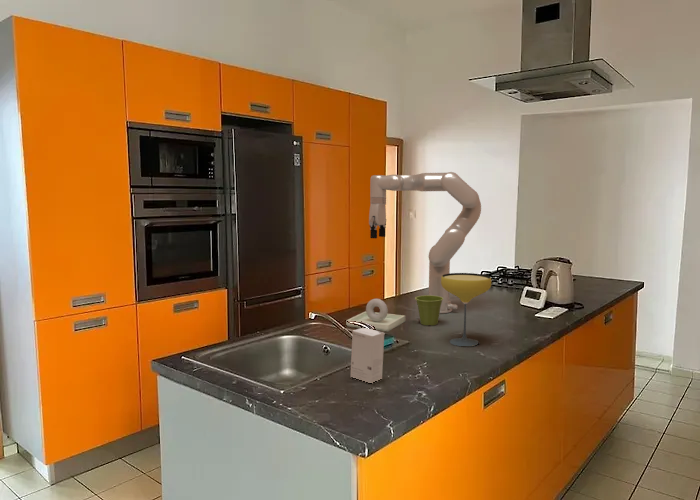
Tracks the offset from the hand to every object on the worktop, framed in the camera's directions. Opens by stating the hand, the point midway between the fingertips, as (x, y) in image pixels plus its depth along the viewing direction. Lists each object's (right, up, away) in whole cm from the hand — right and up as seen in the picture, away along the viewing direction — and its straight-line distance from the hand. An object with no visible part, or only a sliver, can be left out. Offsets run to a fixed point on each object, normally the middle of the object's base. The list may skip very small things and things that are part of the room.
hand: (378, 237), depth 251 cm
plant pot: (+20, -38, -27) cm, 50 cm away
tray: (-2, -37, -26) cm, 46 cm away
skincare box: (-8, -45, -93) cm, 103 cm away
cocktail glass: (+29, -41, -55) cm, 74 cm away
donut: (-2, -37, -26) cm, 45 cm away
